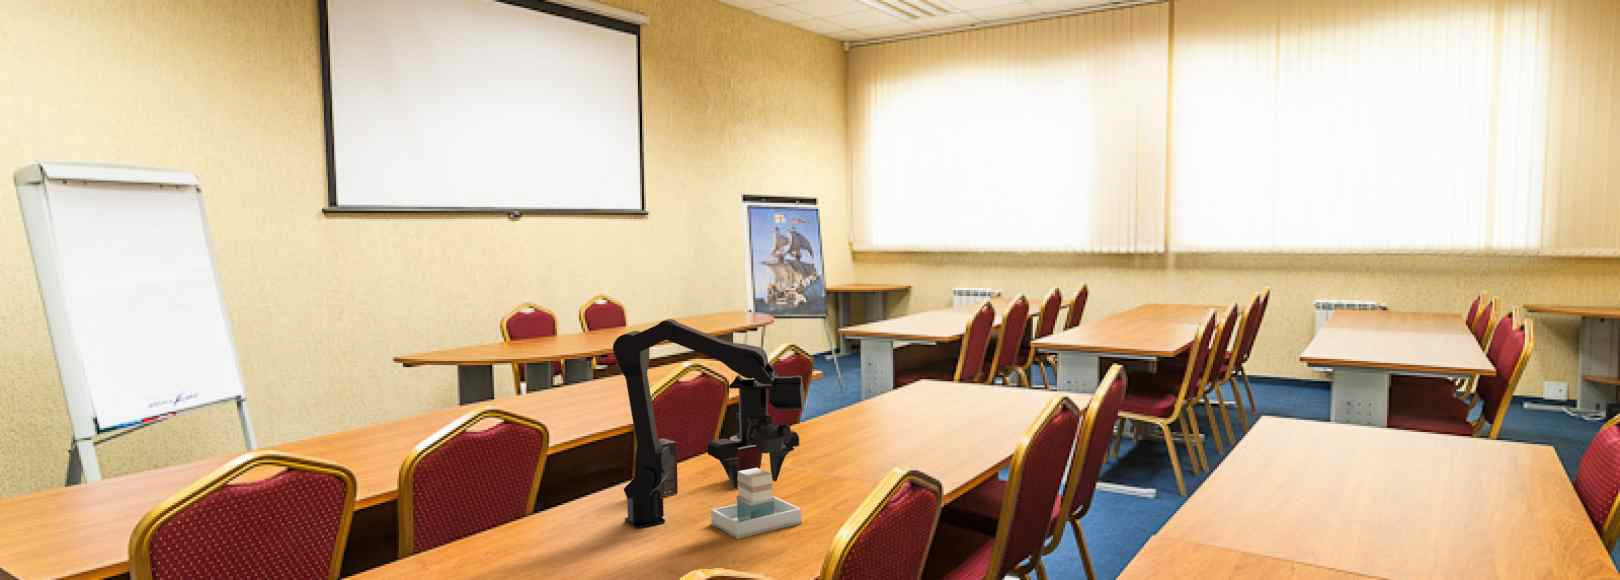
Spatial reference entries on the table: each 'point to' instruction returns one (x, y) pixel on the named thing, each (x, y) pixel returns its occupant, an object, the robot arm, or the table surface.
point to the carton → (755, 484)
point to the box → (671, 481)
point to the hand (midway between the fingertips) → (755, 485)
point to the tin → (754, 508)
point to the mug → (748, 457)
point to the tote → (756, 519)
